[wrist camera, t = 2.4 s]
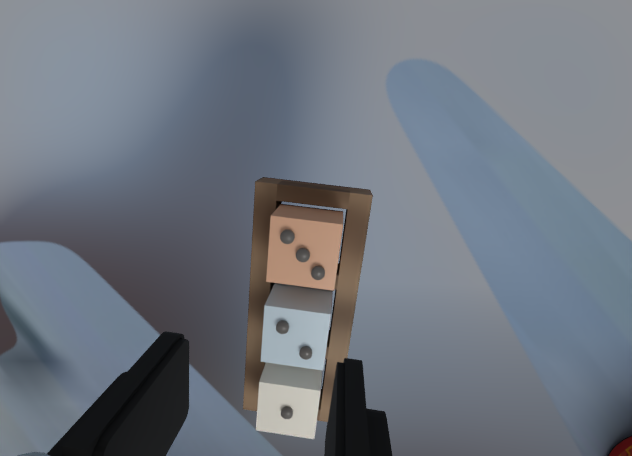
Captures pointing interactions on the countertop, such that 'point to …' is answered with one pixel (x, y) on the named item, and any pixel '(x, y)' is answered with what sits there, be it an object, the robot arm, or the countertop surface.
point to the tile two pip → (296, 326)
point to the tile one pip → (288, 400)
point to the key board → (346, 283)
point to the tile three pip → (304, 246)
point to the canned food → (623, 448)
